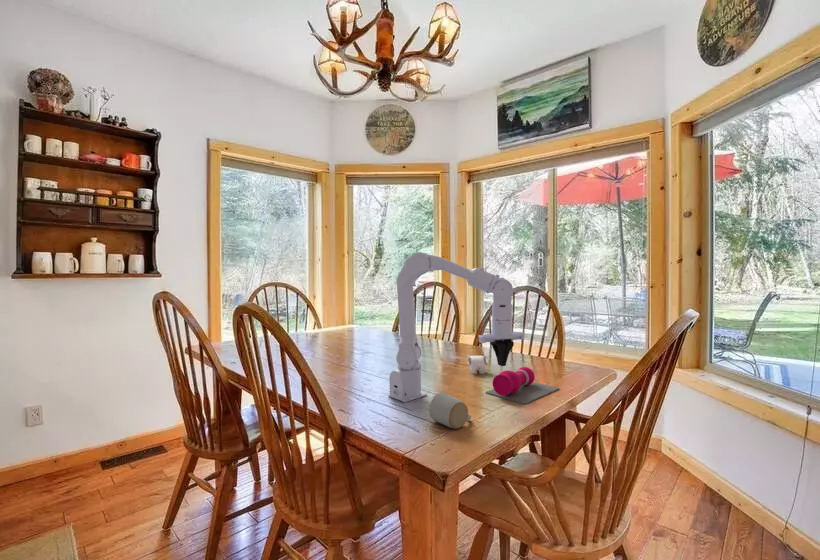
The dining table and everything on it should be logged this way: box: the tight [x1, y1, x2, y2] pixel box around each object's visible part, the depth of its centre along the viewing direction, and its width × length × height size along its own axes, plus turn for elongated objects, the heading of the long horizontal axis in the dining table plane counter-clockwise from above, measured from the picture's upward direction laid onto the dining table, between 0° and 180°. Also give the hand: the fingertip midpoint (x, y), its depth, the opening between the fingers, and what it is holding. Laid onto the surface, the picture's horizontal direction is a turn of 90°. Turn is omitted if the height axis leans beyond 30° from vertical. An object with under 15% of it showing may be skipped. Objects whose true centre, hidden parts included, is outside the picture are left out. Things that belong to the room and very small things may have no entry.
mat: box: [485, 381, 560, 405], centre depth 129 cm, size 20×14×1 cm
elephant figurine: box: [467, 353, 490, 375], centre depth 152 cm, size 8×10×7 cm
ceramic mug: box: [428, 392, 472, 430], centre depth 104 cm, size 10×8×7 cm
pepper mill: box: [492, 366, 536, 396], centre depth 129 cm, size 7×7×20 cm
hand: (501, 365), depth 121 cm, fingers closed
